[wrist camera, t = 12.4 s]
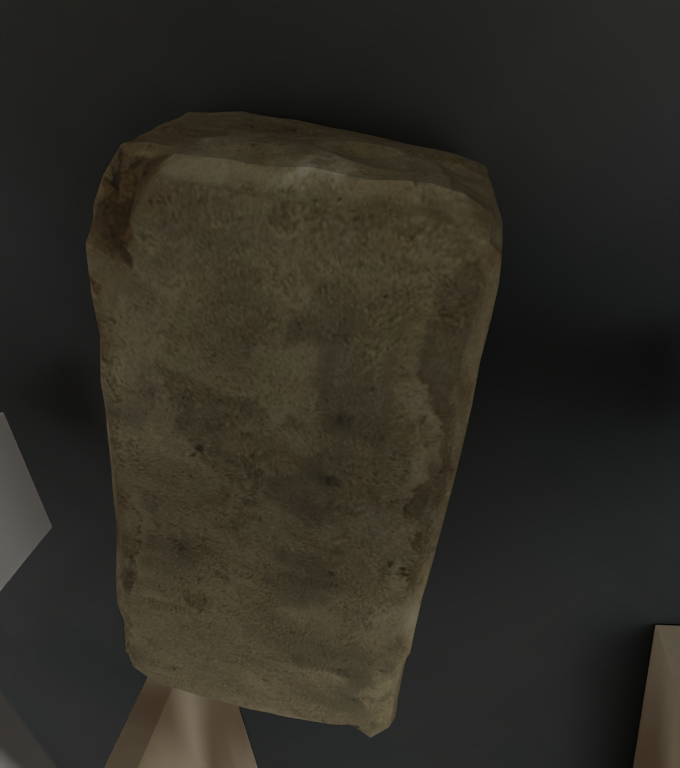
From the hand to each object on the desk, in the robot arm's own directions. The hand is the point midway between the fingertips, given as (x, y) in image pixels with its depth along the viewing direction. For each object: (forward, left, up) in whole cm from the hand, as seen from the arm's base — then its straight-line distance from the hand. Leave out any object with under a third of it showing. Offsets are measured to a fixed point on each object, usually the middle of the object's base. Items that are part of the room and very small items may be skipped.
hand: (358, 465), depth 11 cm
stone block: (0, -1, -4) cm, 4 cm away
